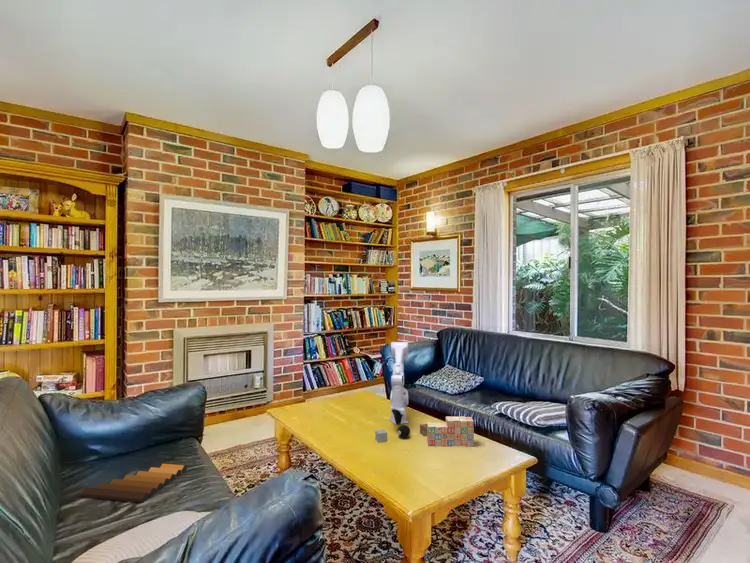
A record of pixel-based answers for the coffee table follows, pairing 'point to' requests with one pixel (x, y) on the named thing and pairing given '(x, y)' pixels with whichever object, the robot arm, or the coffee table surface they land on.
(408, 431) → the billiard ball
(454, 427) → the stack of blocks
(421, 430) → the walnut block
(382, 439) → the grey block
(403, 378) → the robot arm
